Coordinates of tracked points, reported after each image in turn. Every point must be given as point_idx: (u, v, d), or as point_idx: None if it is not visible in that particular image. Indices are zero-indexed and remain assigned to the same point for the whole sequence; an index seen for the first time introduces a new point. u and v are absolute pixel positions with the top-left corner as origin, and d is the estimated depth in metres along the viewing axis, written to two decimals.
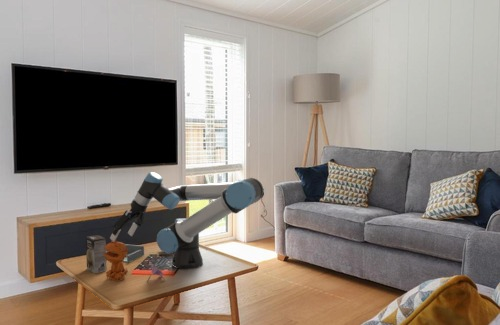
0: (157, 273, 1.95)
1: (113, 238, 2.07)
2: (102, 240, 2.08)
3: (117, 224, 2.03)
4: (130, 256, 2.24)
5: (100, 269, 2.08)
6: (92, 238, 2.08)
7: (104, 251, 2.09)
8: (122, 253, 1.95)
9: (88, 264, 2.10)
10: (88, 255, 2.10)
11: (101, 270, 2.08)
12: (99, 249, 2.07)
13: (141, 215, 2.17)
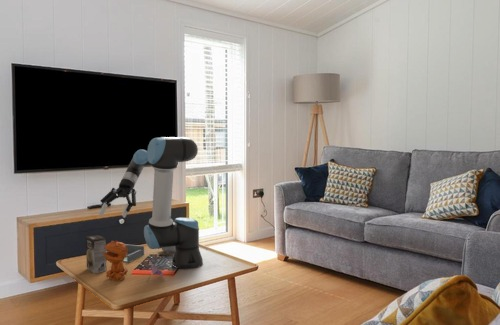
0: (157, 273, 1.95)
1: None
2: (102, 240, 2.08)
3: None
4: (130, 256, 2.24)
5: (100, 269, 2.08)
6: (92, 238, 2.08)
7: (104, 251, 2.09)
8: (122, 253, 1.95)
9: (88, 264, 2.10)
10: (88, 255, 2.10)
11: (101, 270, 2.08)
12: (99, 249, 2.07)
13: None
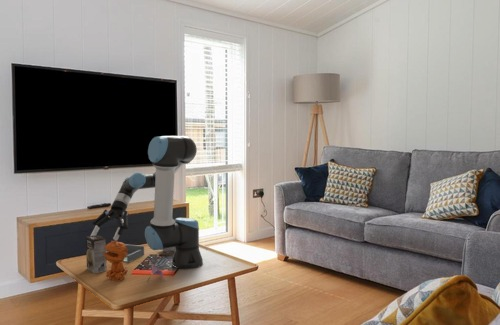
0: (157, 273, 1.95)
1: None
2: (102, 240, 2.08)
3: None
4: (130, 256, 2.24)
5: (100, 269, 2.08)
6: (92, 238, 2.08)
7: (104, 251, 2.09)
8: (122, 253, 1.95)
9: (88, 264, 2.10)
10: (88, 255, 2.10)
11: (101, 270, 2.08)
12: (99, 249, 2.07)
13: None
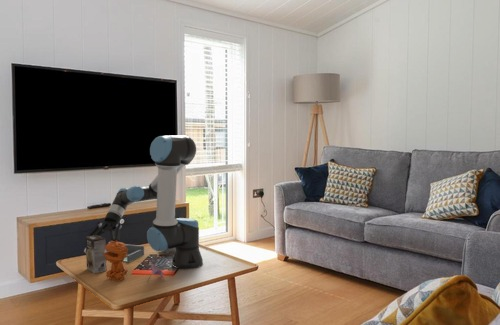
0: (157, 273, 1.95)
1: None
2: (102, 240, 2.08)
3: None
4: (130, 256, 2.24)
5: (100, 269, 2.08)
6: (92, 238, 2.08)
7: None
8: (122, 253, 1.95)
9: (88, 264, 2.10)
10: (88, 255, 2.10)
11: (101, 270, 2.08)
12: (99, 249, 2.07)
13: None
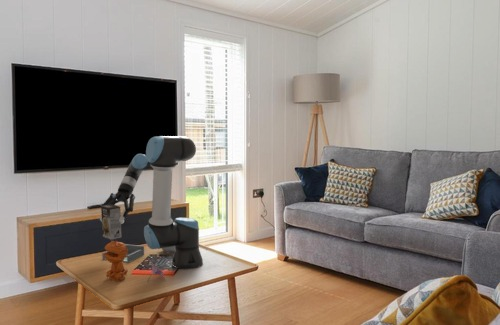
0: (157, 273, 1.95)
1: None
2: (117, 208, 2.20)
3: None
4: (130, 256, 2.24)
5: (115, 236, 2.21)
6: (107, 207, 2.20)
7: None
8: (122, 253, 1.95)
9: (104, 231, 2.23)
10: (104, 223, 2.22)
11: (117, 236, 2.21)
12: (114, 216, 2.19)
13: None
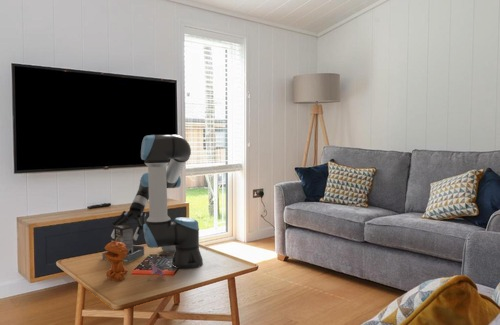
0: (158, 273, 1.96)
1: None
2: (130, 229, 2.29)
3: None
4: (130, 256, 2.24)
5: None
6: (120, 227, 2.29)
7: (131, 239, 2.30)
8: (122, 253, 1.95)
9: None
10: None
11: None
12: (127, 237, 2.28)
13: None
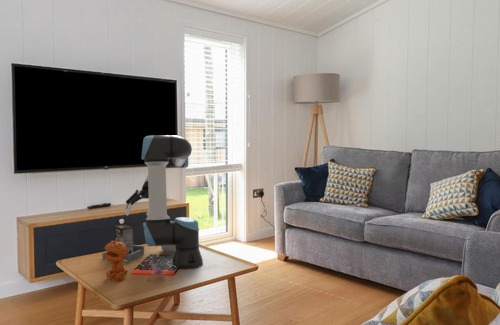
0: (158, 272, 1.96)
1: None
2: (130, 229, 2.29)
3: None
4: (130, 256, 2.24)
5: None
6: (120, 227, 2.29)
7: (131, 239, 2.30)
8: (122, 253, 1.95)
9: None
10: None
11: None
12: (127, 237, 2.28)
13: None
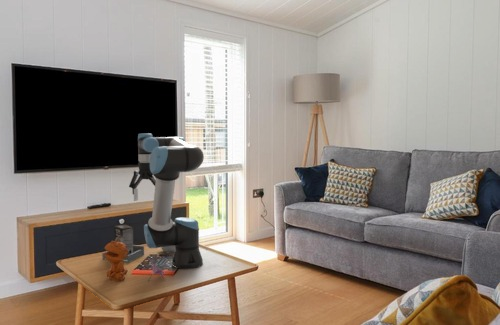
0: (158, 272, 1.96)
1: None
2: (130, 229, 2.29)
3: None
4: (130, 256, 2.24)
5: None
6: (120, 227, 2.29)
7: (131, 239, 2.30)
8: (122, 253, 1.95)
9: None
10: None
11: None
12: (127, 237, 2.28)
13: None
